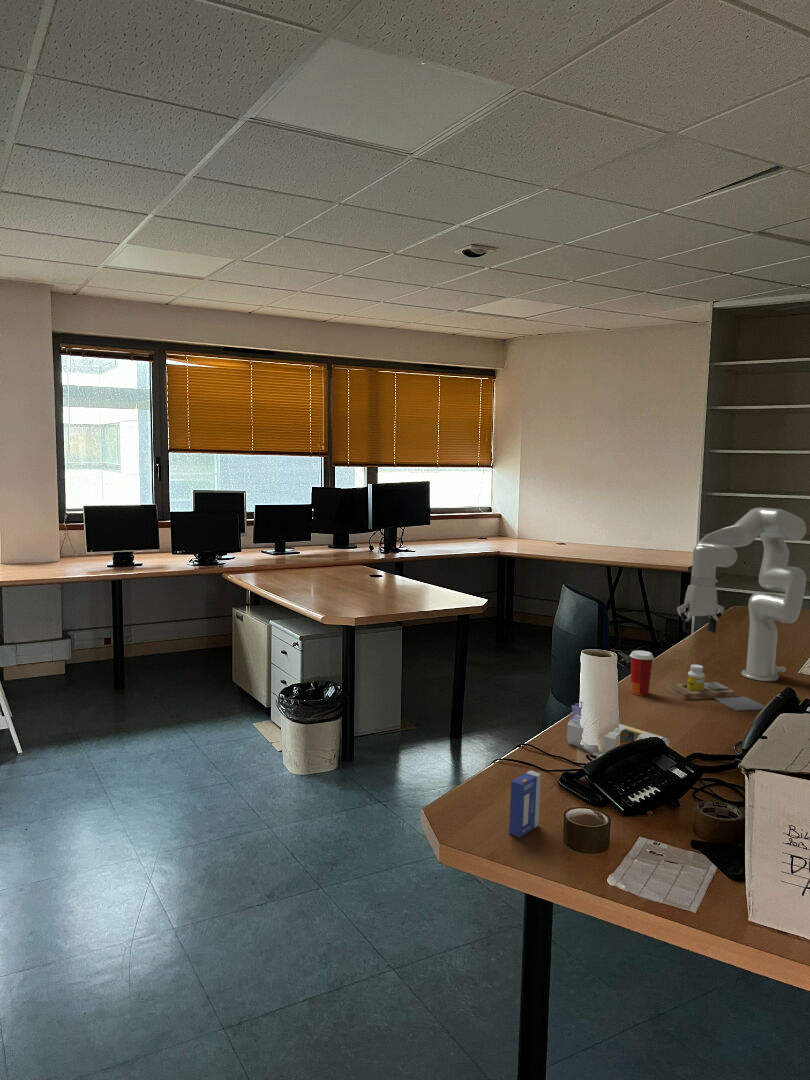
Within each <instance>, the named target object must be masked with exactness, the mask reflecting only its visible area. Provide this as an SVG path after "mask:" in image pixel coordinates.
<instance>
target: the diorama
mask: <svg viewBox="0 0 810 1080" xmlns="http://www.w3.org/2000/svg"><path fill="white" fill-rule="evenodd" d="M580 704H581V705H580ZM582 704H583V701H582V700H581V701H578V703H575V705H573V704H572V705H571V709H572V710H571V711H570V714H569V716H570V717H569V721H568V723H567V727H566V729H567V730H566V739H567V742H568V744H570V745H573V746H575V747H578V748H581V749H585V745H584V744H583V745H581V744H580V743H581V740H582V739H583V738H582V734H583V735H584V728H582V727H581V725H580V719H581V717H580V716H582V715H581V709H582V707H583V706H582ZM617 736H620V742H621V744H623V743H626V742H629V741H633V740H635V741H636V740H639V739H645V738H649V737H658V738H660V739H662V740H663V741H664V742H665V744H666V745H667V746H668V747H669V748H670V740H669V739H668V738H665V737H664V736H661V735H658V734H655V733H651V732H647V731H644V730H642V729H638V728H636V727H631V726H629V725H626V724H622V723H619V729H618V728H615V730H613V732H609V733H608V734H607V735H605V736H604V741H605V742H604V744H605V751H607V750H609V749H611V748H613V747H615V748H616V746H615V739H616V738H617ZM582 741H583V740H582ZM598 753H599V755H602V753H604V752H601V751H598Z"/></svg>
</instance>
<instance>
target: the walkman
mask: <svg viewBox="0 0 810 1080" xmlns="http://www.w3.org/2000/svg"><path fill="white" fill-rule="evenodd" d="M510 782H511V783H510V802H509V804H510V805H509V822H508V823H509V826H508V827H509V828H508V834H509V835H511V836H514V837H517V838H519V839H520V838H522V837H523V836H526V834H528V833H529V832H531V831H532V830H534V829H535V828H537V827H539V822H540V821H539V819H540V799H541V782H542V774H541V773H539V772H536V771H534V770H528V771H527V772H525V773H523V774H522V775H520V776H518V777H516V778H514V779H513V780H511V781H510Z"/></svg>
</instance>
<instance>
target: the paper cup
mask: <svg viewBox="0 0 810 1080" xmlns="http://www.w3.org/2000/svg"><path fill="white" fill-rule="evenodd" d="M629 657H630V692H631V694H632V695H636V696H648V695H649V690H650V684H651V683H650V682H651V675H652V674H651V673H652V666H653V660H654V655H653V653H652V652H650V651H646V650H633V651H632V652H631V653H630V654H629Z"/></svg>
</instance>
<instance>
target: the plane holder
mask: <svg viewBox="0 0 810 1080" xmlns="http://www.w3.org/2000/svg"><path fill="white" fill-rule="evenodd" d="M666 691H668V692H670V693H672V694H673V695H675V696H676V697H679V698H680V699H682V700H684V701H686V700H689V701H690V700H705V699H707V700H709V699H710V700H711V699H714V698H729V697H736V691H735V690H733V689H730V688H729V687H727V686H725V685H724V684H722V683H719V682H718V681H712V682H706V681H705V682H704V691H695V692H692V691H690V690H688V689H687V683H685V682H684V683H667V684H666Z"/></svg>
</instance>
